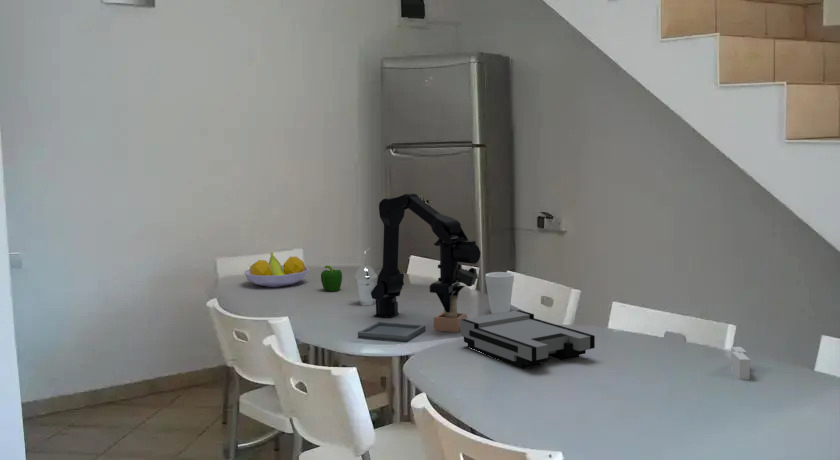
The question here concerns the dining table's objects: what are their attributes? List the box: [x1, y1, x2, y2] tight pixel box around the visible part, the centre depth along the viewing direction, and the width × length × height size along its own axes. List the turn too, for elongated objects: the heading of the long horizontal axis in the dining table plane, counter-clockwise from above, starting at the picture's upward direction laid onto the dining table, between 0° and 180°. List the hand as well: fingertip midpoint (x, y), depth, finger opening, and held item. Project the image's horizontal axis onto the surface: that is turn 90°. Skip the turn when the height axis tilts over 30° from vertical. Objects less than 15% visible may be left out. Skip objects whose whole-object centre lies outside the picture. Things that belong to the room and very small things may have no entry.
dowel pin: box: [443, 295, 458, 318], centre depth 250 cm, size 4×4×10 cm
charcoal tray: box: [357, 321, 426, 343], centre depth 244 cm, size 16×14×2 cm
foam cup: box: [484, 271, 515, 315], centre depth 270 cm, size 10×9×13 cm
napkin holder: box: [730, 346, 751, 380], centre depth 198 cm, size 15×11×6 cm
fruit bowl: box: [244, 252, 310, 288], centre depth 335 cm, size 28×27×11 cm
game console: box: [460, 309, 596, 370], centre depth 219 cm, size 21×32×8 cm, turn 31°
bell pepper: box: [320, 265, 343, 292], centre depth 317 cm, size 8×8×10 cm
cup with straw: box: [353, 246, 378, 306], centre depth 289 cm, size 8×9×20 cm
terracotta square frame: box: [433, 311, 468, 333], centre depth 250 cm, size 8×8×4 cm
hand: (450, 310), depth 250 cm, fingers closed on dowel pin, 4 cm apart
